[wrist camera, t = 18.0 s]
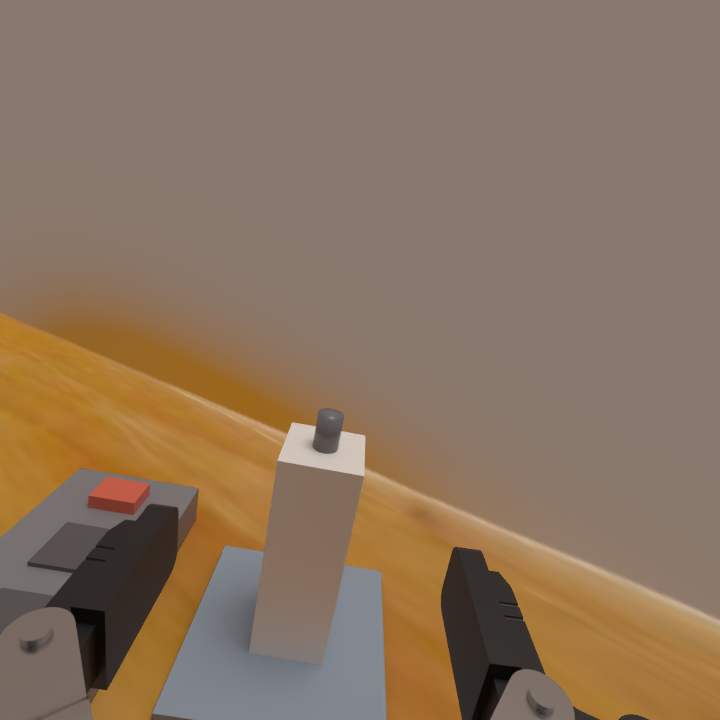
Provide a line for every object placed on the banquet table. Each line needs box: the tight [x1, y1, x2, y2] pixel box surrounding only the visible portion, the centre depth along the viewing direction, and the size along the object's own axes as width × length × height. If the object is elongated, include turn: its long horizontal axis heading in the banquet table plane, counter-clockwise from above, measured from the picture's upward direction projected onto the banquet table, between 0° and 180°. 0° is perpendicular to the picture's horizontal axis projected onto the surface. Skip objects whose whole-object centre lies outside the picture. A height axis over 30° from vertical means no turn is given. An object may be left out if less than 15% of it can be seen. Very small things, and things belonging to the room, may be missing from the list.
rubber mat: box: [152, 546, 387, 720], centre depth 28 cm, size 12×12×1 cm
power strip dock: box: [0, 468, 199, 704], centre depth 23 cm, size 26×9×4 cm, turn 179°
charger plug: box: [249, 408, 365, 665], centre depth 26 cm, size 4×4×15 cm
